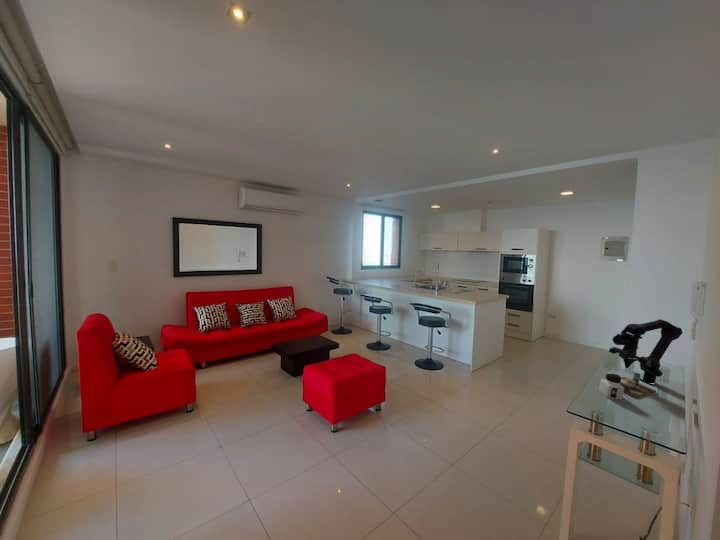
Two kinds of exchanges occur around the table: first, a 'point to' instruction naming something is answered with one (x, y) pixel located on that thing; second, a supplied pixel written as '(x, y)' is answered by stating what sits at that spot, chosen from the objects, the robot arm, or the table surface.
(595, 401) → the table surface
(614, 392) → the container
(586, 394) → the table surface
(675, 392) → the table surface
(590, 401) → the table surface
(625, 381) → the capstan
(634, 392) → the stand
